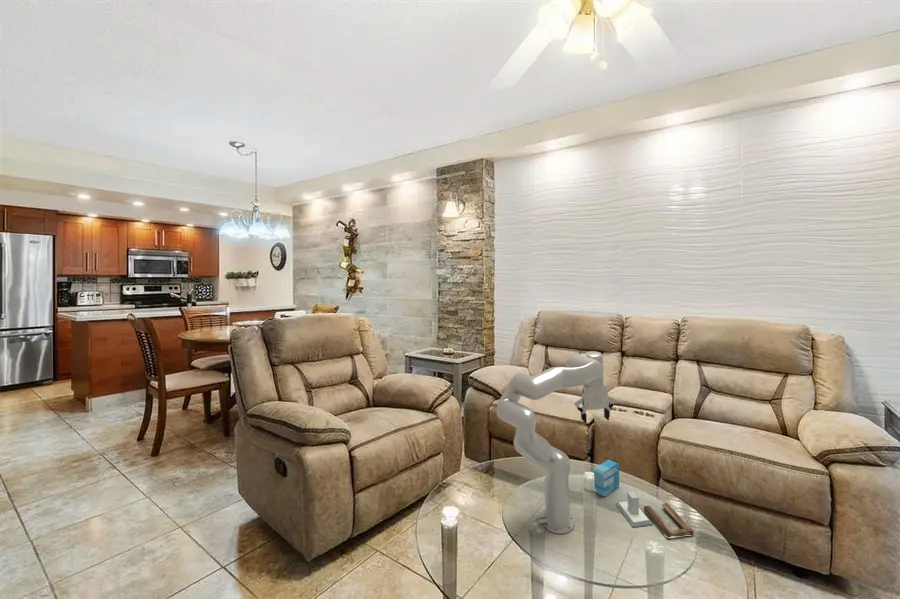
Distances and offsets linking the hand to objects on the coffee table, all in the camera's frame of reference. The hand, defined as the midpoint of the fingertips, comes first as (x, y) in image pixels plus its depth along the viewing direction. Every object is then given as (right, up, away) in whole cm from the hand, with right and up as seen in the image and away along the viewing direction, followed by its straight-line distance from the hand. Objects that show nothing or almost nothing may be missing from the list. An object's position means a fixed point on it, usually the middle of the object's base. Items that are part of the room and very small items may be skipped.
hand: (595, 419), depth 172 cm
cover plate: (+13, -36, -7) cm, 39 cm away
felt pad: (+13, -37, -7) cm, 39 cm away
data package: (+9, -35, +10) cm, 37 cm away
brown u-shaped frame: (+24, -37, -13) cm, 45 cm away
